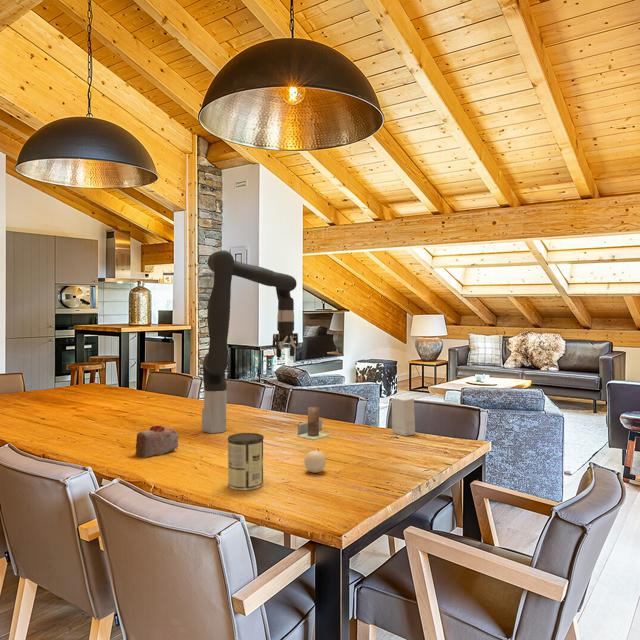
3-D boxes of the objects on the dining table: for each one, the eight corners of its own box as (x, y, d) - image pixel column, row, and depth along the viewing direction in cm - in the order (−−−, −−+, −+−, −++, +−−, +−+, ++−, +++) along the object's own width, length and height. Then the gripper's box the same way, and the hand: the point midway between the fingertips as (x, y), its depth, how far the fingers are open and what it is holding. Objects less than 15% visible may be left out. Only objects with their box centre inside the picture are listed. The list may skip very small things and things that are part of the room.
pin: (312, 436, 216) (312, 409, 216) (305, 434, 220) (305, 407, 220) (321, 435, 219) (321, 408, 219) (313, 433, 223) (314, 406, 223)
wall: (300, 434, 222) (300, 425, 221) (297, 434, 222) (297, 424, 222) (321, 429, 232) (321, 420, 232) (319, 428, 233) (319, 419, 233)
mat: (313, 440, 213) (313, 439, 213) (296, 436, 219) (296, 435, 219) (329, 435, 221) (329, 434, 221) (312, 432, 226) (312, 431, 226)
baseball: (325, 468, 174) (325, 447, 174) (326, 475, 167) (326, 453, 167) (304, 468, 174) (304, 447, 174) (304, 475, 167) (304, 453, 167)
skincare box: (415, 434, 223) (415, 398, 223) (404, 436, 220) (404, 399, 220) (401, 430, 230) (401, 396, 230) (390, 432, 227) (391, 397, 227)
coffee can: (237, 478, 164) (238, 431, 164) (269, 481, 161) (269, 434, 160) (220, 488, 154) (221, 438, 154) (253, 492, 151) (253, 442, 151)
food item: (166, 447, 200) (167, 421, 199) (180, 451, 195) (180, 424, 194) (133, 455, 189) (133, 427, 189) (146, 459, 184) (146, 430, 184)
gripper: (290, 320, 251) (290, 355, 251) (268, 320, 240) (268, 357, 240) (302, 320, 246) (302, 356, 246) (280, 320, 235) (280, 358, 235)
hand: (285, 356), depth 243 cm, fingers open, 8 cm apart
